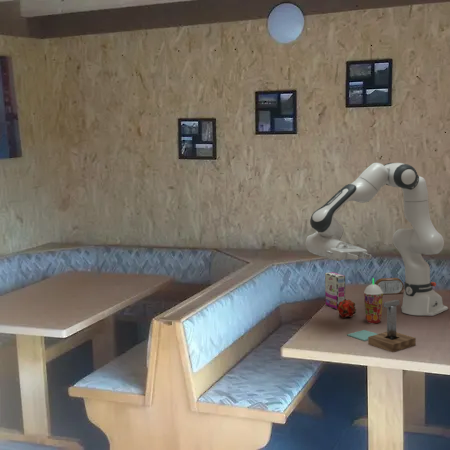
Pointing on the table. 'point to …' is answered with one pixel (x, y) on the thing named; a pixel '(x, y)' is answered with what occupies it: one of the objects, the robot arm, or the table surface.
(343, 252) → the robot arm
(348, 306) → the dragon fruit
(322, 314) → the table surface
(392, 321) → the gunmetal T-key
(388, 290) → the digital desk clock
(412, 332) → the table surface
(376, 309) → the smoothie
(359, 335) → the teal rubber mat
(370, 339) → the walnut key-slot block
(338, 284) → the candy bar box
